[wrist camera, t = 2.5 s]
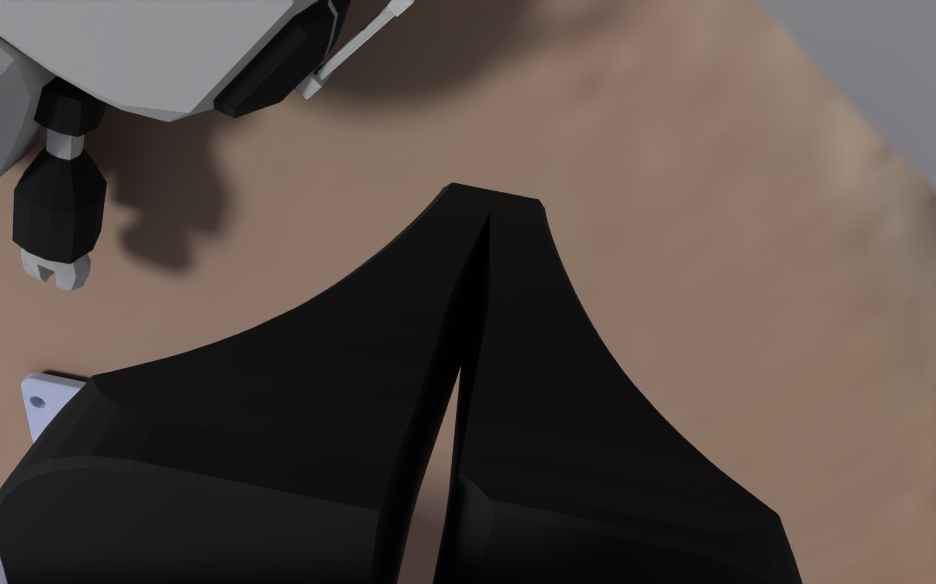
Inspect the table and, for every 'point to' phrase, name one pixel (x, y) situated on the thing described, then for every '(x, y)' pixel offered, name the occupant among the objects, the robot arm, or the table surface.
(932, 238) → the table surface
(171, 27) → the robot toy
